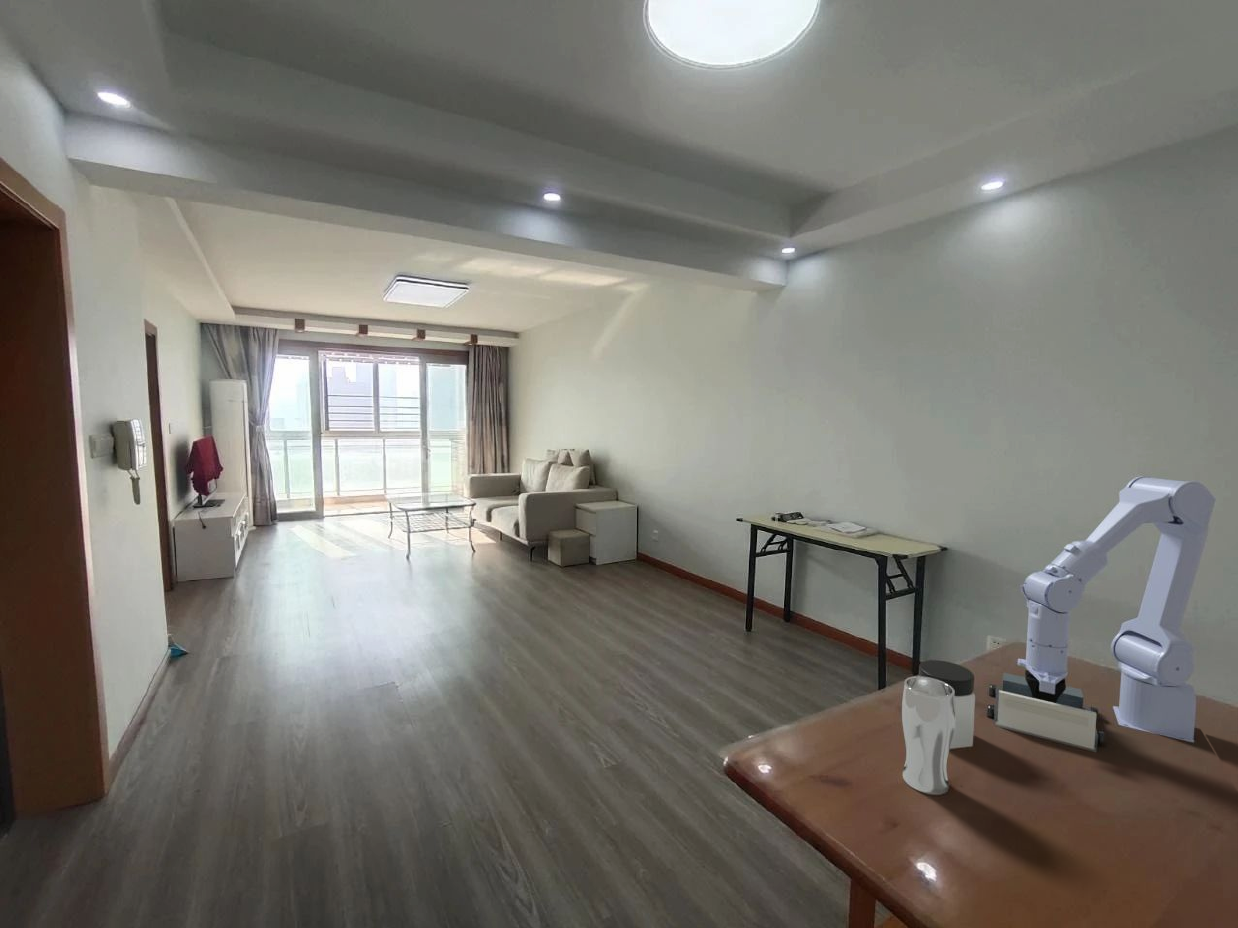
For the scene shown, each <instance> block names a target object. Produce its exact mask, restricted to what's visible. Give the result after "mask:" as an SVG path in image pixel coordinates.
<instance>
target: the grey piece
mask: <svg viewBox="0 0 1238 928" xmlns="http://www.w3.org/2000/svg"><path fill="white" fill-rule="evenodd" d="M1002 673H1003V674H1002V686H999V685H996V684H991V683H989V689H988V690H989V691H988V695H989V696H990V697H995V701H994V704H990V703H988V704H987V709H986V714H987V715H986V717H988V718H991V719H993V723H995V721H996V722H998V704H999V690H1001V691H1005V692H1009V693H1014V694H1018V695H1022V696H1027V697H1031V698H1032V693H1031V690H1030V688H1029V686H1028V684H1027V682H1026V679H1025V676H1020V675H1015V674H1010V673H1006V672H1002ZM1056 703H1057V704H1061V705H1066V706H1070V707H1074V708H1079V709H1083V707H1084V709H1083V710H1087V711H1092V712H1096V722H1099V721H1098V720H1099V708H1098V707H1094V706H1087V705H1084V694H1083V690H1082V689H1080V688H1076V687H1072V686H1066V689H1065V691H1064V692H1063V693H1062V694H1061V695H1060V696H1059V698H1058V700H1057V702H1056ZM1098 746H1099V747H1104V748H1105V747H1106V734H1105V732H1103V731H1099V730H1097V727H1096V728H1095V743H1094V747H1096V750H1097V749H1098Z"/></svg>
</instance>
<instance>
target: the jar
mask: <svg viewBox="0 0 1238 928" xmlns="http://www.w3.org/2000/svg"><path fill="white" fill-rule="evenodd" d="M918 676H923V677H929V678H934V679H937V680H940V681H943V682H945V683H947V684H948V685H950V686H951V687H952V688H953V689H954V691H955V728H954V733H953V738H952V742H951V746H950V749H951V750H952V749H960V748H967V747H969V748H970V747H974V746H973V745H974V726H975V709H976V708H975V707H976V706H975V704H976V694H975V692H974V690H975V689H974V688H975V687H974V686H975V675H974V672H973V671H971V670H970V669H968V668H967V667H964V665H960V664H958V663H954V662H950V661H946V660H937V659H934V660H933V659H931V660H924V661H922V662H920V664H919V666H918ZM950 749H949V750H950Z"/></svg>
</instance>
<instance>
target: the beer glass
mask: <svg viewBox="0 0 1238 928" xmlns="http://www.w3.org/2000/svg"><path fill="white" fill-rule="evenodd" d="M903 682H904V683H903V684H904V686H903V694H902V700H901V702H902V703H901V721H902V729H903V735H904V737H903V738H904V742H905V749H906V752H905V754H906V756H905V761H904V762H905V763H904V767H903V770H902V778H903V780H904V782H905V783H906V784H907V785H908V786H909V787H910V788H912V789H914V790H916V791H917V792H920V793H923V794H926V795H933V796H939V795H944V794H946V793H947V792H948V791H949V780H948V771H947V761H948V757H949V752H950V746H951V742H952V738H953V733H954V728H955V691H954V689H953V688H952V687H951V686H950V685H948V684H947V683H945V682H943V681H940V680H937V679H934V678H929V677H923V676H919V675H917V676H916V675H915V676H909V677H907V678H906V679H905V680H904V681H903Z"/></svg>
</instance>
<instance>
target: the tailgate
mask: <svg viewBox="0 0 1238 928" xmlns="http://www.w3.org/2000/svg"><path fill="white" fill-rule="evenodd" d="M994 724H995V725H994V726H995V727H998V728H1002V729H1006V730H1008V731H1009V730H1010V731H1014V732H1018V733H1021V734H1024V735H1029V736H1032V737H1036V738H1041V739H1043V740H1048V741H1051V742H1056V743H1059V744H1063V745H1067V746H1071V747H1074V748H1079V749H1080V750H1081V749H1083V750H1086V751H1089V752H1094V753H1097V749H1096V747H1094V743H1095V728H1096V729H1097V727H1096V726H1097V725H1096V724H1097V721H1096V712H1092V711H1087V710H1085V709H1079V708H1074V707H1070V706H1066V705H1061V704H1057V703H1053V702H1048V701H1044V700H1040V699H1035V698H1031V697H1027V696H1022V695H1018V694H1014V693H1009V692H1005V691H1002V689H1001V690H999V704H998V722H996V721H995V722H994Z"/></svg>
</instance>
